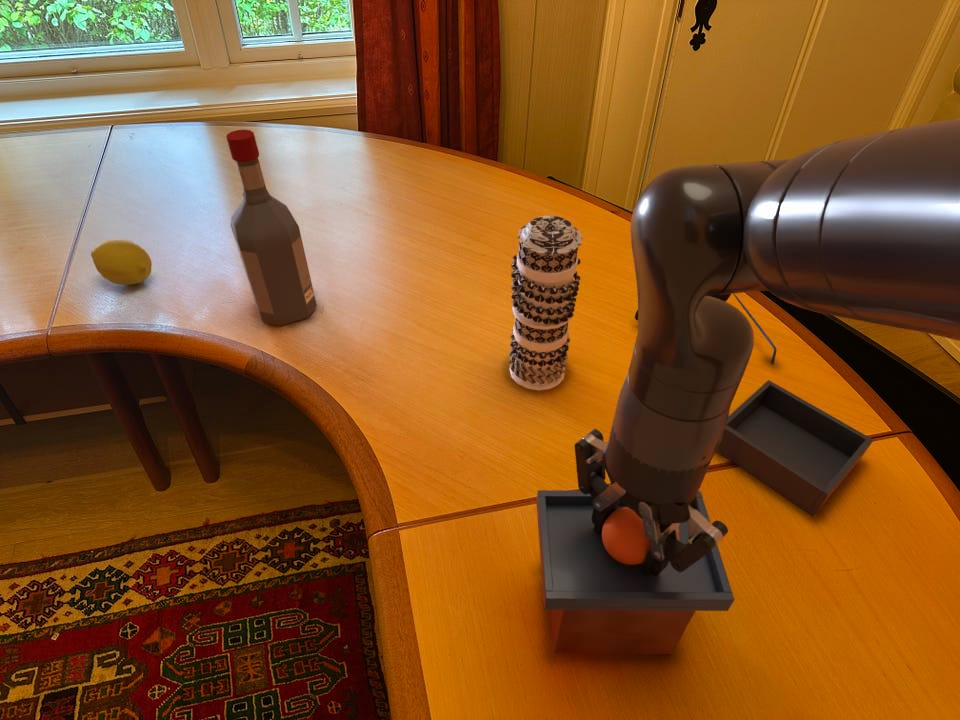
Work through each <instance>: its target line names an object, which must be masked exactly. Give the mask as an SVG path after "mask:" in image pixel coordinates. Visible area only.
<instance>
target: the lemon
mask: <svg viewBox="0 0 960 720" xmlns="http://www.w3.org/2000/svg"><path fill="white" fill-rule="evenodd" d="M90 256H91V258H92V261H93V264H94V266H95V268H96V270H97V272H98V273H99V274H100V275H101V276H102V277H103V278H104V279H105V280H107V281H109V282H110V283H114V284H117V285H121V286H133V285H136V284H140V283H143V282H145V281H146V280H147V279H148V278H149V276H150V275H151V273H152V265H153V264H152V259H151V256H150V255H149V253H148V252H147V251H146V249H145V248H143V246H141V245H139V244H138V243H136V242H135V241H132V240H128V239H125V238H111V239H107V240H104V241H102V242H101V243H99V244H98V245H96V246H95V247H94V248H93V249H91V252H90Z"/></svg>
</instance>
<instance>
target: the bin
mask: <svg viewBox="0 0 960 720" xmlns="http://www.w3.org/2000/svg"><path fill="white" fill-rule="evenodd" d="M873 442H874V439H873V438H872V437H870V436H868V435H866V434H864V433H863V432H861V431H859V430H858V429H855V428H854V427H852V426H850V425H848V424H847V423H845V422H843V421H842V420H839V419H838V418H836V417H835V416H833V415H831V414H829V413H827V412H826V411H825V410H822V409H821V408H819V407H817V406H816V405H813V404H812V403H810V402H808V401H806V400H805V399H803V398H802V397H800V396H798V395H796V394H795V393H793V392H791V391H789V390H787V389H786V388H783V387H782V386H780V385H778V384H777V383H775V382H773V381H771V380H770V379H768V380H767V381H766V382H764V383H763V384H762V385H761V386H760V387H759V388H757V390H755V391H754V392H753V393H752V394H751V395H750V396H748V398H747V399H745V400H744V401H743V402H742V403H741V404H740V405H739V406H738V407H736V409H734V410H733V411H732V412H730V413H729V416H728V420H727V424H726V427H725V430H724V432H723V435H722V441H721V443H720V445H719V448H718V450H717V451H716V452H717V453H718V454H720V455H721V456H723V457H724V458H725V459H727V460H729V461H730V462H732V464H735V465H736V466H738V467H739V468H741V469H742V470H744V471H745V472H747V473H748V474H750V475H751V476H753V477H754V478H755V479H757V480H758V481H760V482H762V483H763V484H765V486H767V487H768V488H771V490H773V491H775V492H776V493H778V494H779V495H780V496H782V497H784V498H785V499H786V500H788V501H790V502H791V503H793V504H794V505H796V506H797V507H798V508H800V509H802V510H803V511H805V512H806V513H808V514H809V515H811V516H812V517H814V516H816V514H817V513H818V512H819V511H820V509H821V508H822V507H823V506H824V505H825V503H826V502H827V501H828V500H829V499H830V497H831V496H832V495H833V493H834V492H835V491H836V490H837V489H838V488H839V486H841V484H842V483H843V482H844V480H845V479H846V478H847V477H848V476H849V474H850V473H851V472H852V471H853V470H854V468H855V467H856V466H857V464H859V462H860V461H861V459H862V458H863V456H864V454H866V452H867V451H868V449H869V448H870V446H871V445H872V443H873Z"/></svg>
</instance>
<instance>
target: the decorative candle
mask: <svg viewBox="0 0 960 720" xmlns="http://www.w3.org/2000/svg"><path fill="white" fill-rule="evenodd" d="M517 238H518V252H517V254H515V255H513V257H512V261H513V262H512V263H511V264H510V267H511V269H512V271H511V273H510V277H511V278H512V285H511V290H512V293H511V296H510V297H511V299H512V308H511V309H512V313H513V315H514V323H513V328H512V333H511V334H510V339H511V341H510V344H509V345H510V347H511V349H510V351H509V357H510V358H509V360H508V363H509V373H510V377H511V379H512V380H514V382H515V383H516V384H517V385H519V386H521V387H523V388H525V389H527V390H533V391H545V390H547V391H548V390H550V389H552V388H553V389H554V388H555V387H557V386H559V385H560V384H561V382H562V381H563V380H564V379H565V375H566V374H565V373H566V367H567V366H568V364H567V362H566V360H568V358H569V356H568V351H569V349H570V346H569V343H570V342H571V338H570V337H569V335H570V334H569V330H570V326H569V322H570V321H571V320H572V318H573V317H574V312H575V307H576V302H577V298H576V297H577V296H578V291H579V290H580V287H579V286H580V281H581V276H580V275H579V274H578V271H577V269H578V266H579V265H580V264H581V259H580V258H579V256H578V252H579V246H581V244H582V241H583V238H584V237H583V235H582V233H581V231H580V230H579V229H578V228H577V227H575V226H574V224H573V223H572V222H571V221H569V220H568V219H567V218H564V217H561V216H557V215H541V216H538V217H535V218H533V219H532V220H530V221H529V222H528V223H526V224H524V225H523V226H522V227H521V228H519V230H518V232H517Z"/></svg>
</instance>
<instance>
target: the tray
mask: <svg viewBox="0 0 960 720" xmlns="http://www.w3.org/2000/svg"><path fill="white" fill-rule="evenodd" d="M593 500H594V499H593V498H592V496H591V495H590V494H587V495H586V494H584V493H582V492H581V491H580V490H574V489H573V490H571V489H570V490H561V489H560V490H558V489H557V490H554V489H552V490H550V489H549V490H548V489H547V490H546V489H539V490H538V489H537V493H536V500H535V501H536V502H535V503H536V516H537V530H538V542H539V543H538V544H539V557H540V558H539V559H540V572H541V583H542V584H541V587H542V595H543V596H542V599H543V610H544V611H545V610H547V611H551V610H661V611H695V612H728V611H729V610H730V608H731V607H732V605H733V603H734V602H735V596H734V594H733V590H732V588H731V584H730V581H729V578H728V574H727V571H726V568H725V564H724V562H723V558H722V555H721V552H720V548H719V545H718V544H717V545H716V546H715V547H714V548H713V549H712V550H711V551H710V552H709V553H708V554H706V555H705V556H704V557H702V558H701V559H699V560H698V561H697V562H695V563H694V564H693V565H691V566H690V567H689V568H687V569H686V570H684V571H683V572H678V571H676V570H675V569H674V568H673V567H672V566H671V564H670V561H669V563H668V565H667V566H666V567H665V569H664V570H663V571H662V572H661V573H660V574H659V575H658V576H654V575H652V574H650V575H649V576H648V577H647V576H646V575H644V574H643V573H642V572H641V569H642V567H643V564H644V562H643V563H641V564H636V565H627V564H624V563H621V562H619V561H617V560H615V559H614V558H613V557H612V556H611V555H610V554H609V553H608V552H607V550H606V549H605V546H604V544H603V540H602V534H601V535H598V534H597V533H596V532H595V531H594V530H593V529H594V524H593V523H592V519H591V518H592V514H593V509H594V506H593V503H592V501H593ZM697 500H698V504H699V506H698V511H699V512H700V513H701V514H702V515H703V516H704V517H705V518H706V519H707V520H708V521H709V522H710V523H711V519H710V517H709V514H708V510H707V507H706V504H705V500H704V498H703V494H702V491H701V490H698V493H697ZM624 507H626V506H625V505H624V504H622V503H621V502H620V501H619V505H618V508H617V510H618V509H620V508H624ZM688 531H689V525H688V523H687V522H683V523H680V525H679V536H680V542H682V543H684V544H687V543H688V542H687V539H688V538H689V535H688Z"/></svg>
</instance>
